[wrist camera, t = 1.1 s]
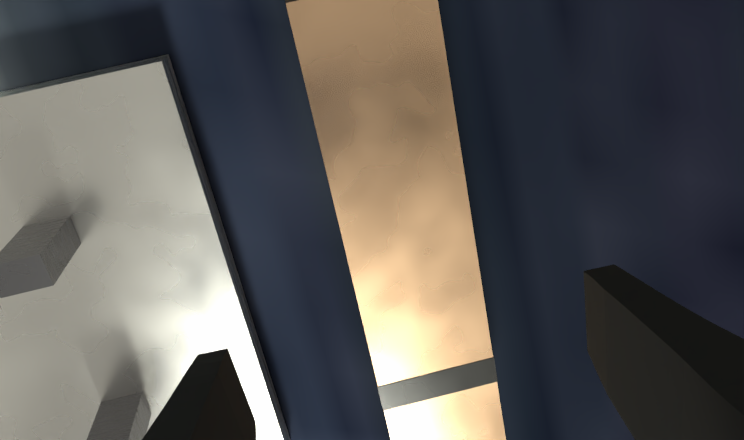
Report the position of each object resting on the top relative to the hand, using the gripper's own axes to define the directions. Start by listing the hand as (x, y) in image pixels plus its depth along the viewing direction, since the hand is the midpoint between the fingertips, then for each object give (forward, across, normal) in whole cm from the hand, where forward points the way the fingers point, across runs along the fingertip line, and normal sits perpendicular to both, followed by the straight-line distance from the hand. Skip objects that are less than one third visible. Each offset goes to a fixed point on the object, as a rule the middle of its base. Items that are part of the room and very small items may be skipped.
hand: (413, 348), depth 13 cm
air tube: (+11, 0, +4) cm, 12 cm away
